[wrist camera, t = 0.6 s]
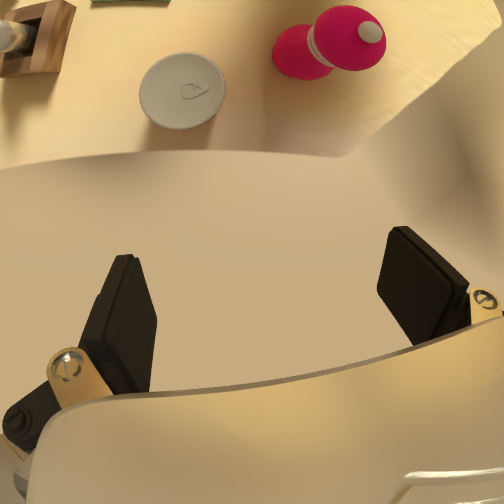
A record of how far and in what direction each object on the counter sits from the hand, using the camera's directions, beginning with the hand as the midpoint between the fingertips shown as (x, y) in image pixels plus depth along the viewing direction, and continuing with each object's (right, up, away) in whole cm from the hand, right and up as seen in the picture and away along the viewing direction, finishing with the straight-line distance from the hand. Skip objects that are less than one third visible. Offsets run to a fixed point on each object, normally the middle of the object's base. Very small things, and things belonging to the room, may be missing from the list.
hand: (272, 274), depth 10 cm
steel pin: (-30, +29, +11) cm, 43 cm away
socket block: (-30, +30, +12) cm, 44 cm away
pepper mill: (+5, +26, +21) cm, 33 cm away
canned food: (-9, +21, +22) cm, 31 cm away
